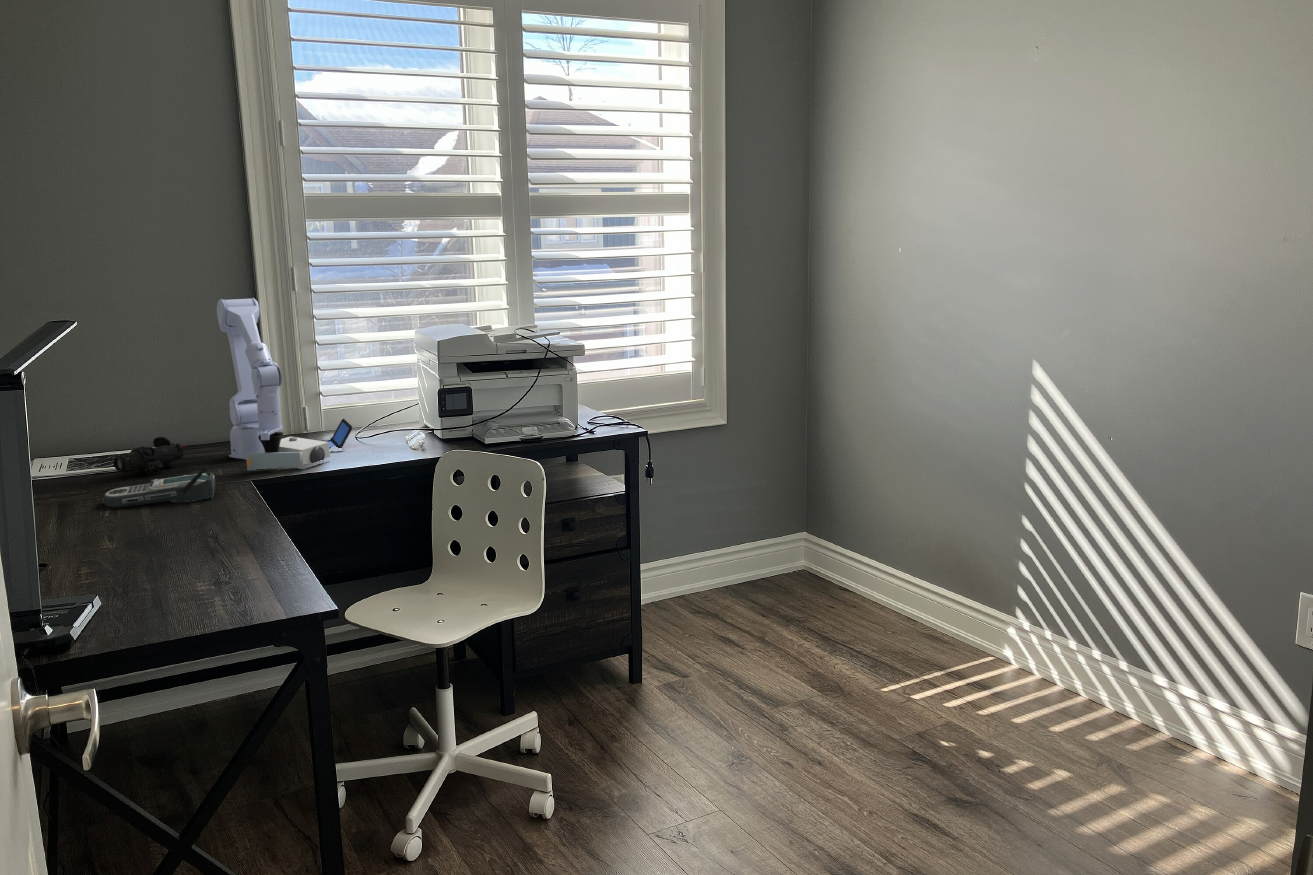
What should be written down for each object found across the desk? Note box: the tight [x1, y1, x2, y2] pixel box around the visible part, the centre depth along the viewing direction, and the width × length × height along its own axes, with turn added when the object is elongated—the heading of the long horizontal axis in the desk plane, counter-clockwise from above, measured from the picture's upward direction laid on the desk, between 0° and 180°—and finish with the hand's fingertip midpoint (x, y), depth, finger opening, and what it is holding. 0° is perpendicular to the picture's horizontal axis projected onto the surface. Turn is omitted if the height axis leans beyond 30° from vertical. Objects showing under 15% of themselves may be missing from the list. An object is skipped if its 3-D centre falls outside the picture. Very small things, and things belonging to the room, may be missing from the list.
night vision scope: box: [113, 436, 187, 476], centre depth 259 cm, size 8×18×10 cm
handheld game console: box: [321, 418, 353, 449], centre depth 287 cm, size 12×11×7 cm
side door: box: [246, 452, 303, 471], centre depth 261 cm, size 14×2×4 cm, turn 100°
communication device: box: [103, 466, 216, 509], centre depth 235 cm, size 12×24×9 cm, turn 112°
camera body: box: [263, 435, 331, 465], centre depth 270 cm, size 15×10×6 cm
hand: (272, 460), depth 264 cm, fingers closed
